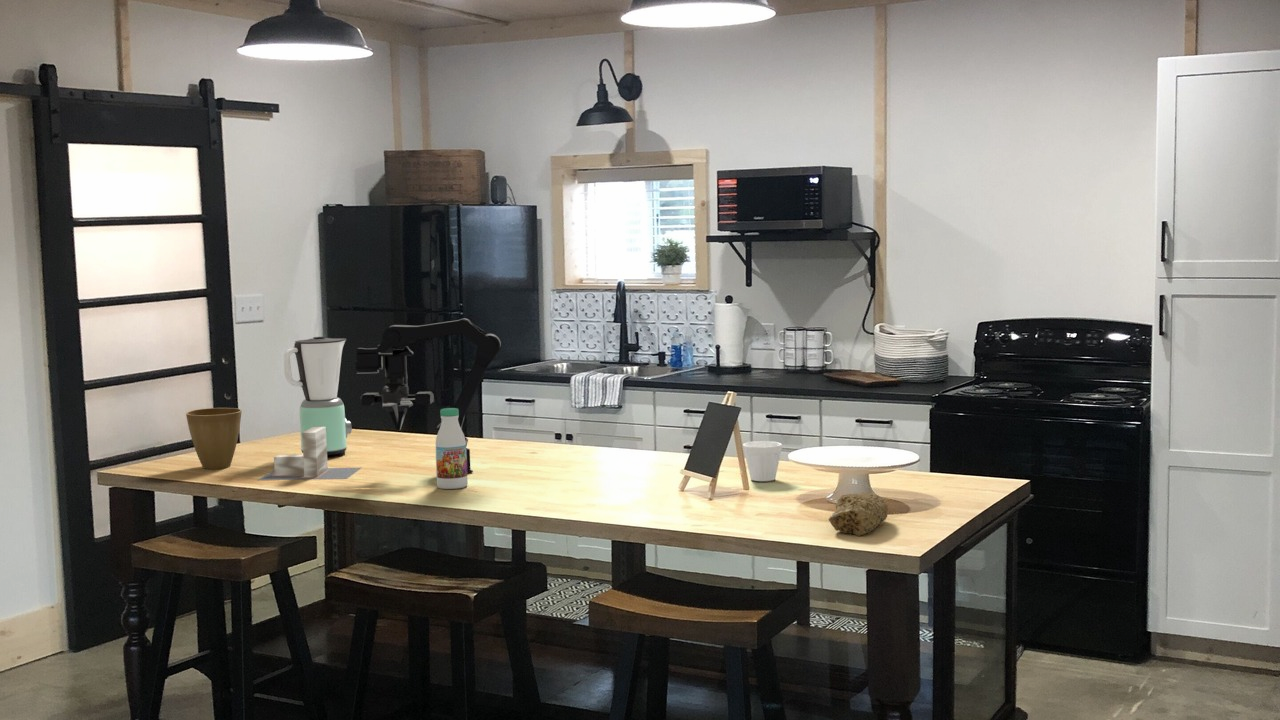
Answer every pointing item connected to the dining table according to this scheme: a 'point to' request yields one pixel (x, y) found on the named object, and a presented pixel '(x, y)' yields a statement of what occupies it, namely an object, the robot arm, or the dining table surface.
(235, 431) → the plant pot
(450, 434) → the milk bottle
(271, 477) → the mat
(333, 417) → the blender
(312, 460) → the l block
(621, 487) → the dining table surface
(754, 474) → the cup
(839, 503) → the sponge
